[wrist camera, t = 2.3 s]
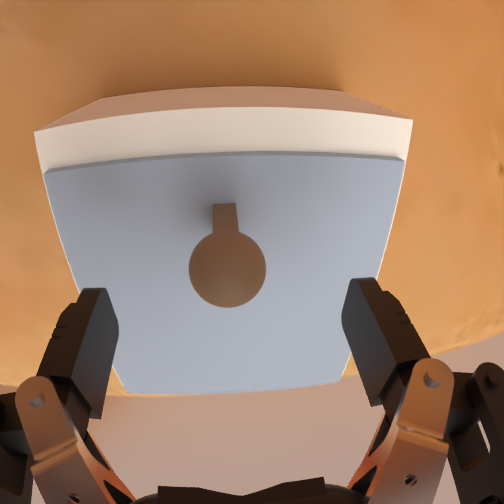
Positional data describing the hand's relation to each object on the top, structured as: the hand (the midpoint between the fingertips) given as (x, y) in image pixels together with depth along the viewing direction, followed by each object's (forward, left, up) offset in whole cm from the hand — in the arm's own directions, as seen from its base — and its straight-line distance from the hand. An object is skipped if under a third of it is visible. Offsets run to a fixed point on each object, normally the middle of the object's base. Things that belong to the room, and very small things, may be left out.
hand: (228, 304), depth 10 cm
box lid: (+6, 0, -6) cm, 8 cm away
